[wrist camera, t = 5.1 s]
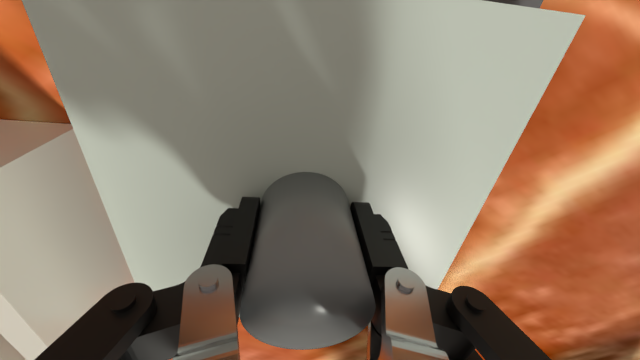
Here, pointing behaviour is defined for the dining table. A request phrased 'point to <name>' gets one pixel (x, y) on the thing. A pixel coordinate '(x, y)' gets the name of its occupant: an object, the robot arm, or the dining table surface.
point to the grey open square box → (50, 237)
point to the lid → (297, 133)
